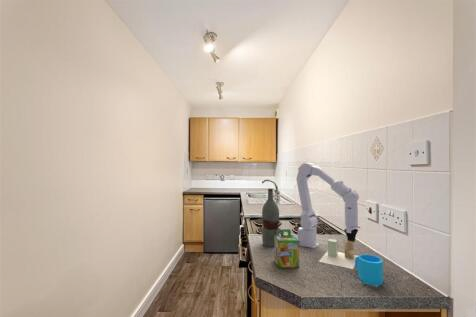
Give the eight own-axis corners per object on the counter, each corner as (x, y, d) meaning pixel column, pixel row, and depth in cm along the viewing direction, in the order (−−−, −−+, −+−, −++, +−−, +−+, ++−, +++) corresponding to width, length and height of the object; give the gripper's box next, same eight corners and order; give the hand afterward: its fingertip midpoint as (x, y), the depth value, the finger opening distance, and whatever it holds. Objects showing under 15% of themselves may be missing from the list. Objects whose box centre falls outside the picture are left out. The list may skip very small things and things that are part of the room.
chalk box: (278, 268, 103) (277, 233, 103) (273, 259, 112) (273, 227, 112) (299, 268, 104) (299, 232, 104) (293, 259, 113) (293, 227, 113)
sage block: (327, 255, 116) (327, 240, 116) (329, 253, 119) (329, 238, 119) (335, 257, 114) (335, 242, 114) (337, 254, 117) (337, 240, 117)
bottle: (260, 246, 130) (260, 189, 130) (263, 241, 139) (263, 187, 139) (278, 247, 128) (278, 190, 128) (280, 242, 136) (279, 188, 137)
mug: (388, 284, 90) (388, 261, 90) (370, 287, 88) (369, 264, 88) (363, 270, 101) (363, 250, 102) (347, 272, 99) (346, 252, 100)
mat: (318, 262, 109) (318, 261, 109) (328, 251, 123) (328, 250, 123) (353, 270, 101) (353, 269, 101) (359, 257, 115) (359, 255, 115)
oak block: (344, 257, 113) (344, 242, 113) (346, 255, 116) (346, 240, 116) (353, 259, 111) (353, 243, 111) (354, 256, 114) (354, 241, 114)
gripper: (358, 220, 110) (358, 250, 110) (362, 214, 122) (362, 241, 122) (341, 218, 114) (341, 247, 114) (347, 212, 126) (347, 239, 126)
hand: (351, 244), depth 118 cm, fingers closed
